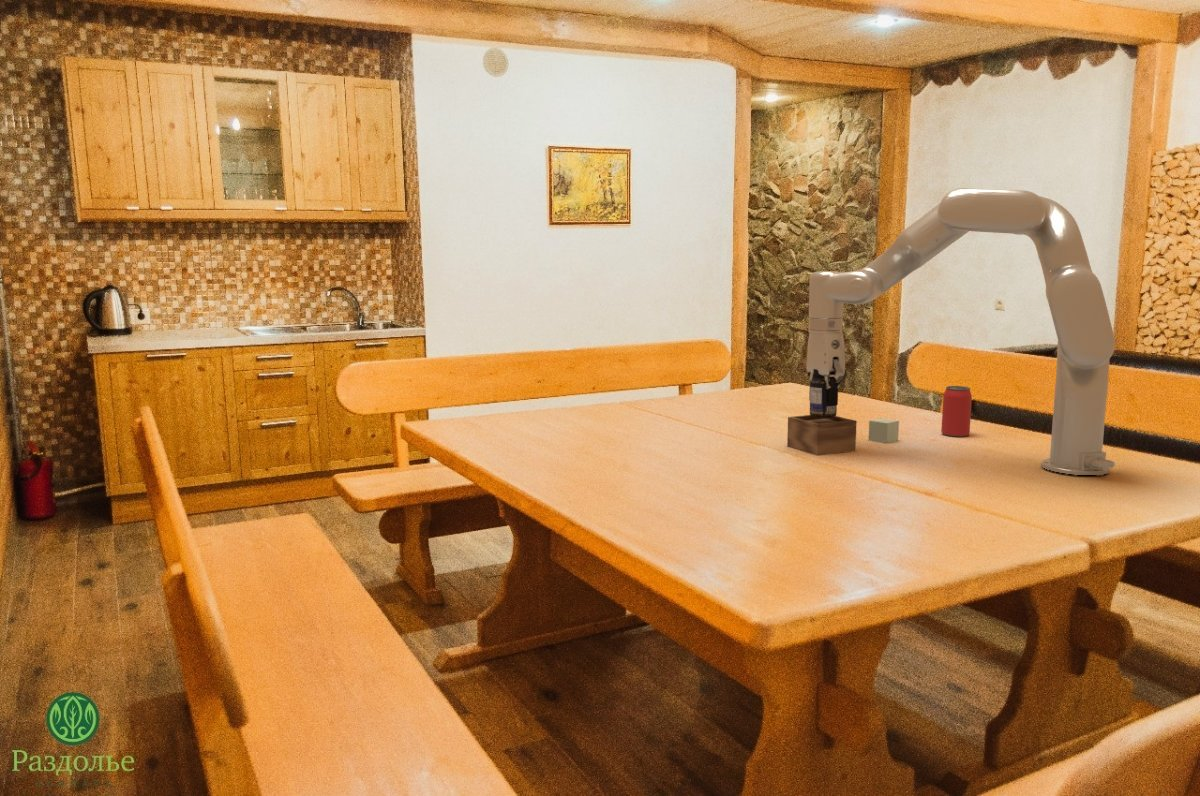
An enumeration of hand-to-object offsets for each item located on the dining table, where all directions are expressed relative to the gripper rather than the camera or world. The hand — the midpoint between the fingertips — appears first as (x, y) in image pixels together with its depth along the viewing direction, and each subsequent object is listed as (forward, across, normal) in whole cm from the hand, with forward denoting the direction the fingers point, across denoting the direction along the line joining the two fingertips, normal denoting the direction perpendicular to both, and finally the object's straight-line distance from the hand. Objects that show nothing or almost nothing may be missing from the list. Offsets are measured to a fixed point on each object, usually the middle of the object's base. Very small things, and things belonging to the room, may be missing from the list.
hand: (823, 402), depth 207 cm
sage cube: (+11, +4, -19) cm, 22 cm away
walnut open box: (+11, 0, 0) cm, 11 cm away
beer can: (+11, +5, -40) cm, 42 cm away
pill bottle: (+3, 0, 0) cm, 3 cm away
